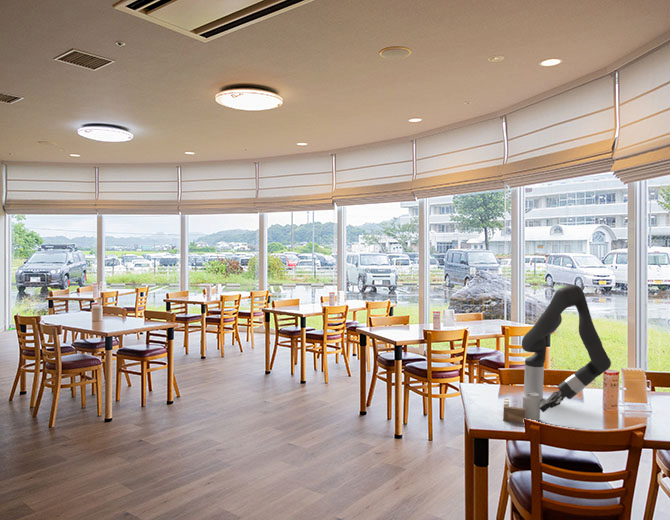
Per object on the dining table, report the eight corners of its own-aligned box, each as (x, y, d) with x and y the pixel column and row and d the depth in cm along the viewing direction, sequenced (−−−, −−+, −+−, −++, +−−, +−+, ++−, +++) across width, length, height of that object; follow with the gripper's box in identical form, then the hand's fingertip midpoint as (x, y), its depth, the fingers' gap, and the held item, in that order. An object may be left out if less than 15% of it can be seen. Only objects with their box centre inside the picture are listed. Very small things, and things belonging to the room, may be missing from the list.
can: (519, 416, 233) (519, 391, 233) (534, 416, 234) (535, 390, 233) (527, 422, 225) (527, 395, 225) (542, 422, 226) (543, 395, 226)
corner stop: (504, 411, 240) (504, 397, 240) (524, 413, 237) (524, 399, 237) (503, 420, 227) (503, 406, 227) (524, 423, 224) (525, 408, 224)
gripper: (563, 376, 231) (534, 399, 235) (566, 383, 218) (535, 408, 223) (576, 389, 229) (546, 412, 234) (579, 397, 217) (548, 421, 221)
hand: (541, 410), depth 228 cm, fingers closed
